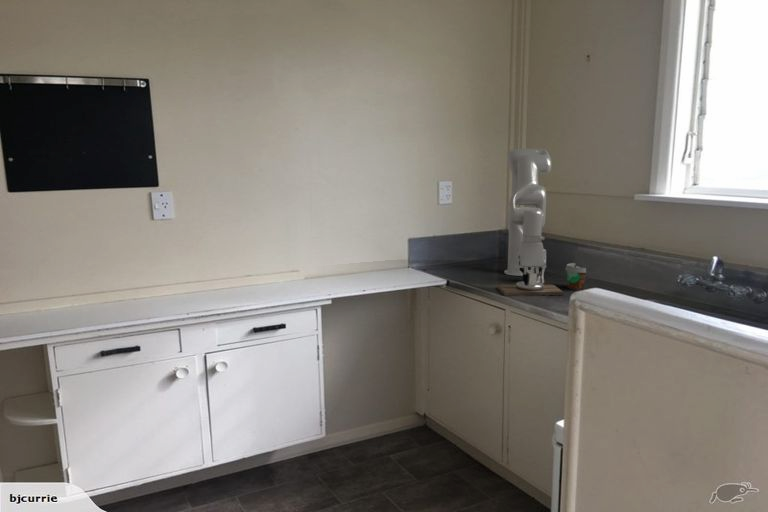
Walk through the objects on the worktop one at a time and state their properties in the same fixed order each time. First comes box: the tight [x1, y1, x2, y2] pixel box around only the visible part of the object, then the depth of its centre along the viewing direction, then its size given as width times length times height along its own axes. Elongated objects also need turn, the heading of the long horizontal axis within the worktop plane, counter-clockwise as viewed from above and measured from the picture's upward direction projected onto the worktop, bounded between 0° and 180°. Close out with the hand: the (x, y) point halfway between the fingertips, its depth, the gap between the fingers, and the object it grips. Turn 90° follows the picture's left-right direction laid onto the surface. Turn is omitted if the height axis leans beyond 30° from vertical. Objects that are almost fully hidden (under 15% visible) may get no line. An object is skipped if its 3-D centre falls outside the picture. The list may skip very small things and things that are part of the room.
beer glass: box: [530, 248, 547, 284], centre depth 273 cm, size 7×7×15 cm
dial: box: [516, 269, 545, 290], centre depth 255 cm, size 11×11×7 cm
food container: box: [565, 262, 587, 291], centre depth 261 cm, size 12×6×10 cm, turn 5°
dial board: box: [496, 283, 565, 297], centre depth 255 cm, size 15×24×2 cm, turn 91°
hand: (529, 282), depth 255 cm, fingers closed on dial, 3 cm apart
